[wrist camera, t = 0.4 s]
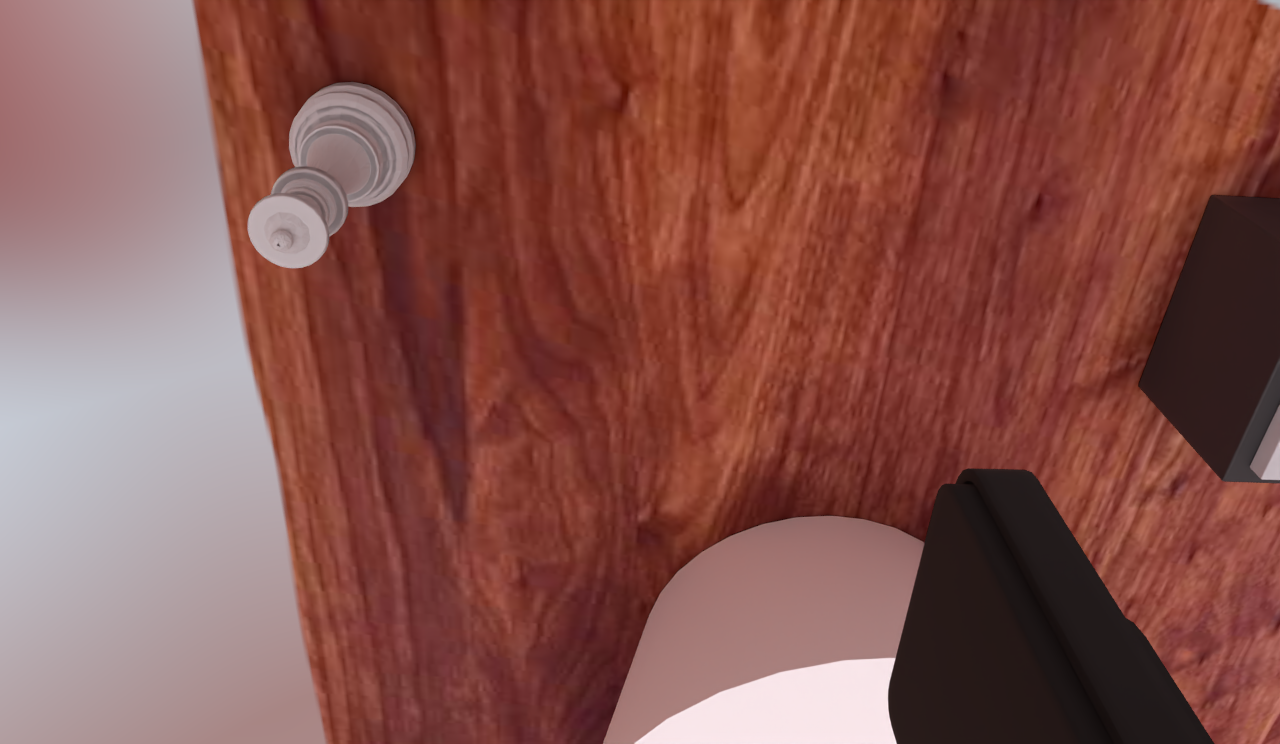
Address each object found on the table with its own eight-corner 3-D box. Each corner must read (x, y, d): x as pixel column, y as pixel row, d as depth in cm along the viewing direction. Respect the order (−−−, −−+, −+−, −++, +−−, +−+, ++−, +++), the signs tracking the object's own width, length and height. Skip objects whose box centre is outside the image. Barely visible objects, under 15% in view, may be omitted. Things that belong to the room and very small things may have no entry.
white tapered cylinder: (999, 395, 43) (1120, 584, 33) (1061, 729, 55) (1165, 944, 44) (505, 540, 46) (474, 750, 36) (663, 822, 58) (674, 1042, 48)
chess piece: (329, 56, 35) (235, 141, 26) (437, 123, 36) (381, 225, 27) (279, 154, 36) (176, 263, 28) (384, 215, 38) (316, 337, 29)
